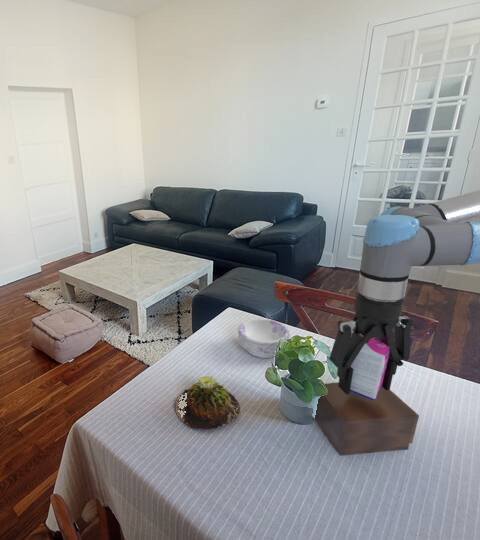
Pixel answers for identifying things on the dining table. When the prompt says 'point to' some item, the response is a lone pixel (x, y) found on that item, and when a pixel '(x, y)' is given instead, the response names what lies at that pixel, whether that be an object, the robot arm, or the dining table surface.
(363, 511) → the dining table surface
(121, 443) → the dining table surface
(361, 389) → the supplement box
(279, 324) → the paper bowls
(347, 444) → the cabinet
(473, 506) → the dining table surface
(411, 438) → the drawer
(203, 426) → the cactus
